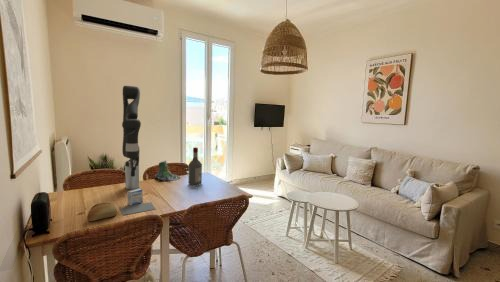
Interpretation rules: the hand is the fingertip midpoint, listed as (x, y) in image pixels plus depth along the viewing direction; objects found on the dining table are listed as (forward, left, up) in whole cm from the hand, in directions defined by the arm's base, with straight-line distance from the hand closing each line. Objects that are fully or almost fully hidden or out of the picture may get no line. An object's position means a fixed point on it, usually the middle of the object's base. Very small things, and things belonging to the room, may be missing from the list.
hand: (132, 176), depth 162 cm
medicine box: (+7, 0, -16) cm, 18 cm away
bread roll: (+20, -19, -17) cm, 32 cm away
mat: (+16, 0, -16) cm, 23 cm away
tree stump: (-40, +34, -17) cm, 55 cm away
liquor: (-15, +49, -16) cm, 54 cm away
